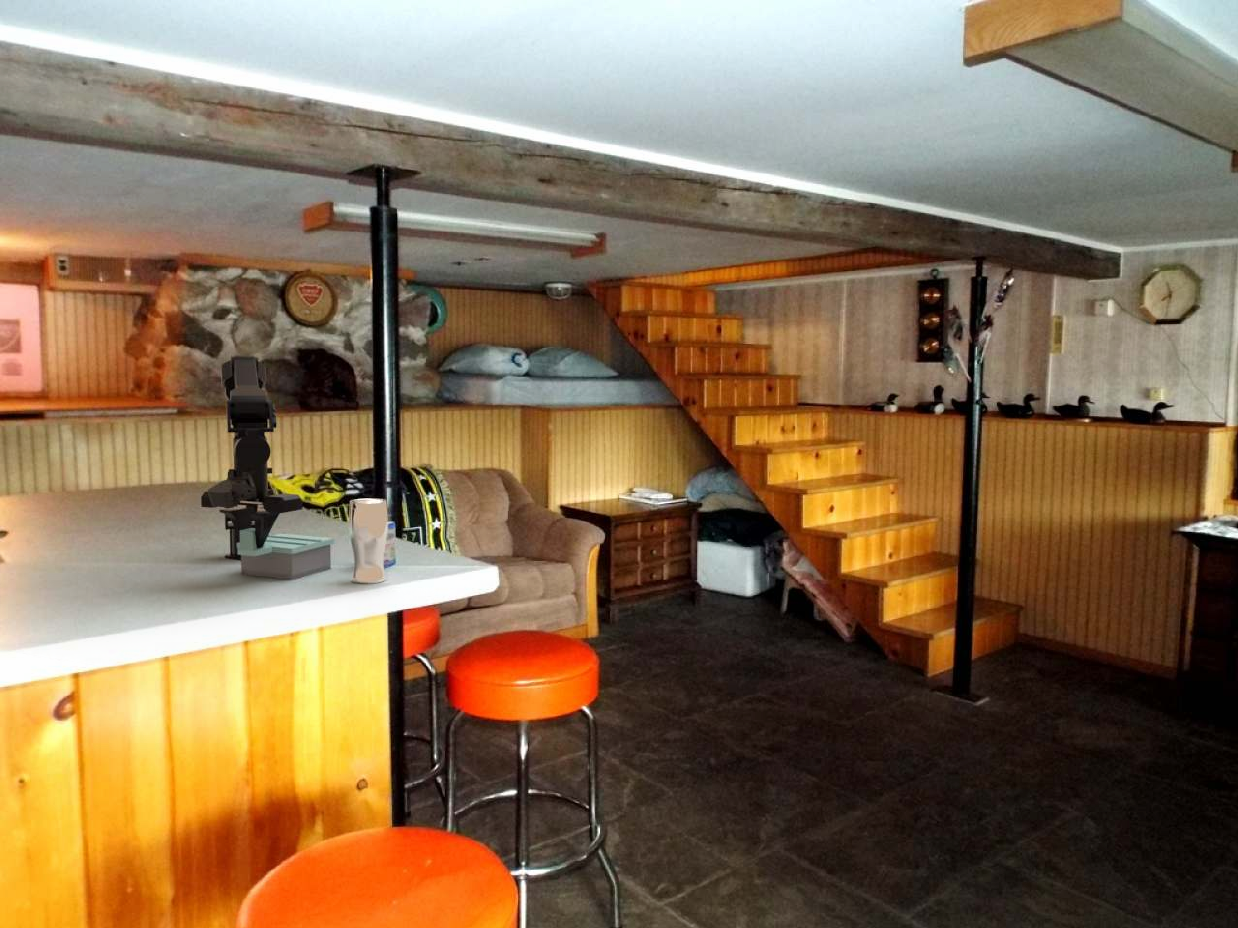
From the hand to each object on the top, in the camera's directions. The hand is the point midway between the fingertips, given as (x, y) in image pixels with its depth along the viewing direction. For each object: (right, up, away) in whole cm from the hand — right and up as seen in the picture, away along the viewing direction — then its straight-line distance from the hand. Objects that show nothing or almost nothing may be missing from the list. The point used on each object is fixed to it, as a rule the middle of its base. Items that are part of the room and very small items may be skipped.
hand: (252, 547), depth 169 cm
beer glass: (+21, -7, +2) cm, 22 cm away
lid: (+2, -1, +6) cm, 7 cm away
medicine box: (+19, -5, +15) cm, 25 cm away
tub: (+3, -5, +9) cm, 11 cm away
